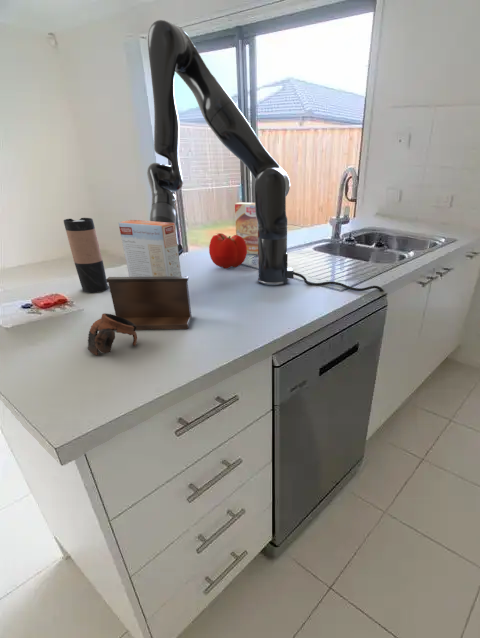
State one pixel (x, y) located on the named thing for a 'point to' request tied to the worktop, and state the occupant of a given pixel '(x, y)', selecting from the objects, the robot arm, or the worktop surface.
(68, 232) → the travel mug
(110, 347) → the brown arched piece
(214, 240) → the tomato
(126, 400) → the worktop surface
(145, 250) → the cracker box
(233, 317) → the worktop surface
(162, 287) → the walnut backstop
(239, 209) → the coffeecake box
